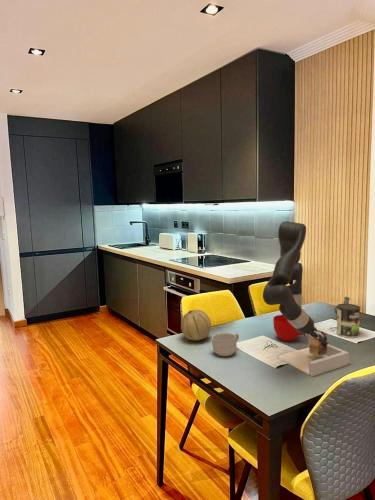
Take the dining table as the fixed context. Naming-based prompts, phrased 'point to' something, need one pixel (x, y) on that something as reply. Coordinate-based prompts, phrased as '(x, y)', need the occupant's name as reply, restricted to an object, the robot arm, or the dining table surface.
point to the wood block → (317, 347)
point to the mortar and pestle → (346, 301)
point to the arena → (317, 360)
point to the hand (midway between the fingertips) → (321, 343)
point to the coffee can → (348, 320)
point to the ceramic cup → (284, 328)
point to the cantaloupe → (196, 325)
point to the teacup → (225, 343)
